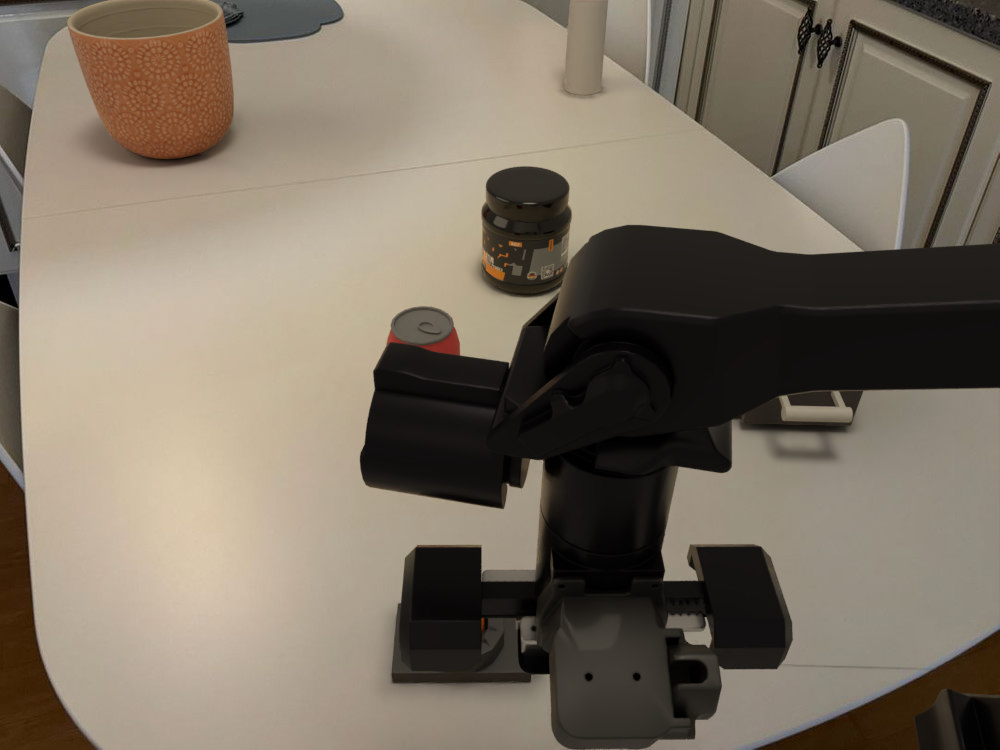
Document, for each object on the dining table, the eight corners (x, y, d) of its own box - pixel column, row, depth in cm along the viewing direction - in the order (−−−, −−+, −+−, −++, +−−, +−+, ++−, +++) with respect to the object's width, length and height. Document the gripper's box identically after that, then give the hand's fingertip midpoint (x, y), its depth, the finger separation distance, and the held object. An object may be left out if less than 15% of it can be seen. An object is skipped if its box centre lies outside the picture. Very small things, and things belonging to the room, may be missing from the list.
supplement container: (471, 257, 107) (471, 168, 99) (551, 246, 109) (556, 159, 102) (494, 303, 99) (495, 211, 92) (579, 291, 101) (587, 199, 94)
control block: (527, 611, 66) (529, 587, 64) (531, 682, 62) (532, 658, 60) (398, 611, 66) (396, 587, 64) (392, 683, 61) (389, 659, 59)
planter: (120, 185, 121) (81, 48, 109) (92, 132, 134) (55, 5, 122) (263, 155, 129) (241, 24, 117) (223, 108, 143) (200, -13, 131)
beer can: (434, 457, 79) (429, 355, 72) (379, 430, 82) (369, 328, 74) (474, 418, 84) (474, 317, 76) (420, 393, 86) (415, 294, 79)
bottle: (605, 84, 154) (621, -89, 136) (595, 97, 149) (610, -81, 131) (570, 79, 156) (581, -93, 138) (559, 91, 151) (569, -85, 133)
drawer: (863, 454, 79) (885, 399, 75) (751, 451, 79) (766, 396, 75) (818, 353, 91) (835, 300, 87) (720, 351, 91) (732, 298, 87)
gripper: (377, 667, 32) (400, 847, 41) (875, 665, 32) (782, 843, 42) (399, 456, 40) (414, 646, 50) (792, 456, 41) (730, 645, 51)
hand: (578, 693), depth 48 cm, fingers closed
